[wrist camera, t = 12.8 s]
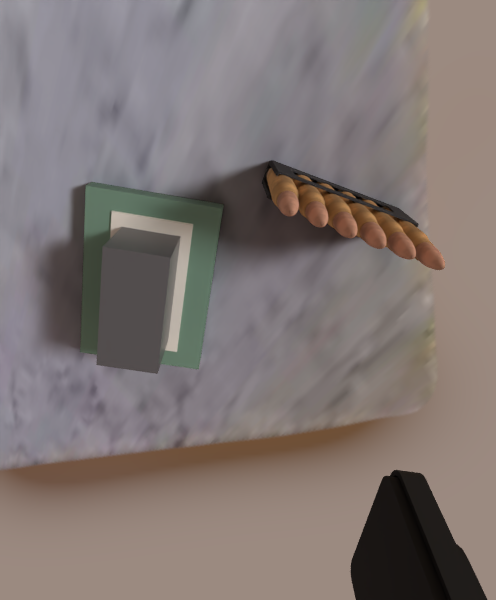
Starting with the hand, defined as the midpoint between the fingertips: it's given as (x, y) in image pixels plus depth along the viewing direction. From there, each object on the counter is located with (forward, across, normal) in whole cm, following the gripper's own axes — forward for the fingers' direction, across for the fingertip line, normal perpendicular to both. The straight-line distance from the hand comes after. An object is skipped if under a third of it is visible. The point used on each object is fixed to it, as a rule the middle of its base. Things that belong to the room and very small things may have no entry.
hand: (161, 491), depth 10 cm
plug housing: (+27, +5, +7) cm, 28 cm away
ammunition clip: (+29, -8, -2) cm, 30 cm away
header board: (+28, +5, +7) cm, 30 cm away
